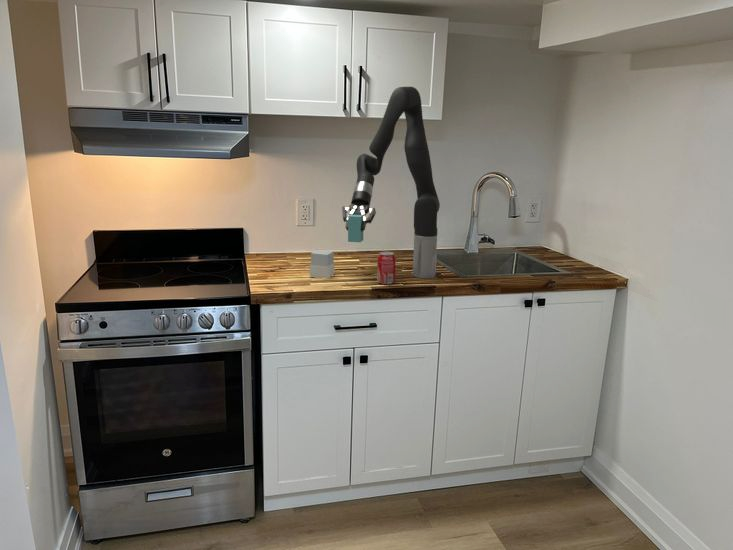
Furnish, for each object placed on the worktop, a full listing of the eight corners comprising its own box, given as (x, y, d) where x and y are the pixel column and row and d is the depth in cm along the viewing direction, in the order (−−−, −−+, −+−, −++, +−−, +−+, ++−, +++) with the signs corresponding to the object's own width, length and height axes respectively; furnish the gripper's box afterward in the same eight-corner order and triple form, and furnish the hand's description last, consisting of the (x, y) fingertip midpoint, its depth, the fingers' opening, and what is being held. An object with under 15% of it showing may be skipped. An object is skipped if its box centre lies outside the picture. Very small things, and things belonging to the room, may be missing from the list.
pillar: (363, 240, 218) (363, 215, 215) (360, 242, 213) (360, 216, 210) (351, 239, 219) (351, 214, 216) (347, 241, 214) (348, 216, 211)
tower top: (333, 263, 224) (333, 251, 222) (327, 267, 217) (327, 254, 216) (317, 261, 226) (317, 249, 224) (311, 265, 219) (310, 253, 218)
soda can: (384, 279, 219) (385, 250, 216) (398, 282, 215) (399, 253, 212) (373, 283, 214) (373, 253, 211) (387, 286, 209) (388, 255, 206)
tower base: (334, 274, 226) (334, 262, 224) (328, 279, 218) (328, 267, 217) (315, 273, 227) (315, 261, 226) (309, 277, 220) (309, 265, 218)
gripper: (343, 188, 219) (335, 223, 211) (378, 190, 216) (371, 225, 208) (346, 200, 226) (338, 234, 218) (380, 202, 223) (374, 236, 214)
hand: (354, 229), depth 213 cm, fingers closed on pillar, 5 cm apart
